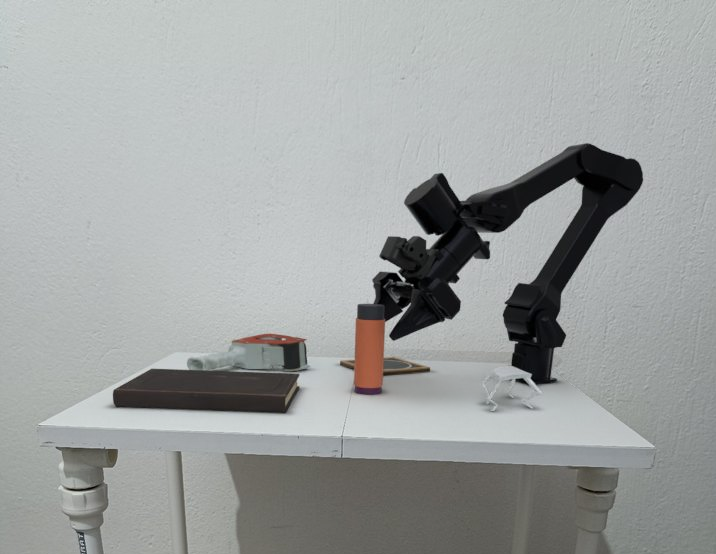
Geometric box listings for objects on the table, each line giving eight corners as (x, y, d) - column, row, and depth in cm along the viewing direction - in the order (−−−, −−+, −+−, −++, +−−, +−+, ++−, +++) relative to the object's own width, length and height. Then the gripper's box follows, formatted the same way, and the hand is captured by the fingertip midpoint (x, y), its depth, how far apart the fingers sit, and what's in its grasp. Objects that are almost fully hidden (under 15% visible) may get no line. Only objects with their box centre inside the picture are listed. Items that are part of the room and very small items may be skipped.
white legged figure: (543, 414, 91) (548, 379, 90) (482, 411, 92) (486, 376, 90) (530, 395, 103) (534, 364, 101) (475, 393, 103) (478, 361, 102)
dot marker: (372, 387, 105) (375, 303, 101) (387, 393, 102) (391, 306, 97) (348, 389, 103) (350, 303, 99) (362, 395, 99) (365, 306, 95)
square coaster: (394, 360, 129) (394, 356, 129) (430, 371, 119) (430, 367, 119) (340, 364, 123) (340, 360, 123) (373, 376, 114) (373, 371, 113)
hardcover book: (152, 383, 103) (151, 368, 103) (299, 388, 103) (299, 373, 102) (113, 407, 88) (111, 390, 87) (285, 413, 88) (285, 396, 87)
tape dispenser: (186, 383, 111) (305, 379, 110) (181, 352, 109) (303, 347, 108) (209, 360, 127) (313, 357, 126) (205, 332, 125) (311, 328, 124)
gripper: (386, 217, 104) (319, 290, 104) (449, 215, 88) (371, 301, 88) (426, 270, 110) (363, 339, 109) (492, 277, 94) (419, 358, 93)
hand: (377, 334), depth 100 cm, fingers open, 9 cm apart
